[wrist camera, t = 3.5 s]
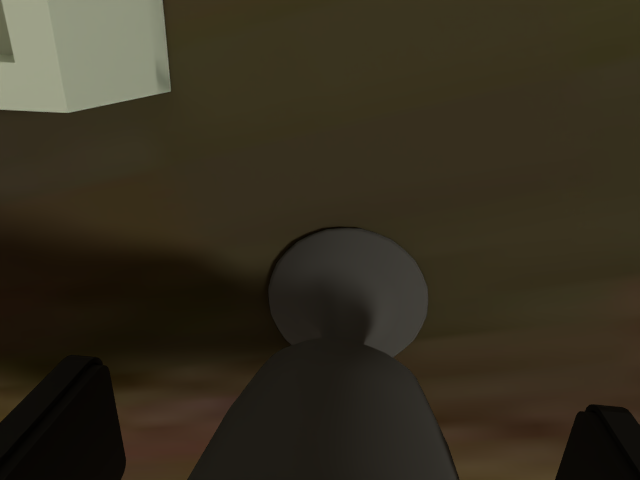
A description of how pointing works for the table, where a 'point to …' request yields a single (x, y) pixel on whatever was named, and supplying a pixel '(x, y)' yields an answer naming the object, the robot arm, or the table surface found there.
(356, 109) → the table surface
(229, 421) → the sundae
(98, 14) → the box
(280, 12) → the table surface
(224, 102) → the table surface
